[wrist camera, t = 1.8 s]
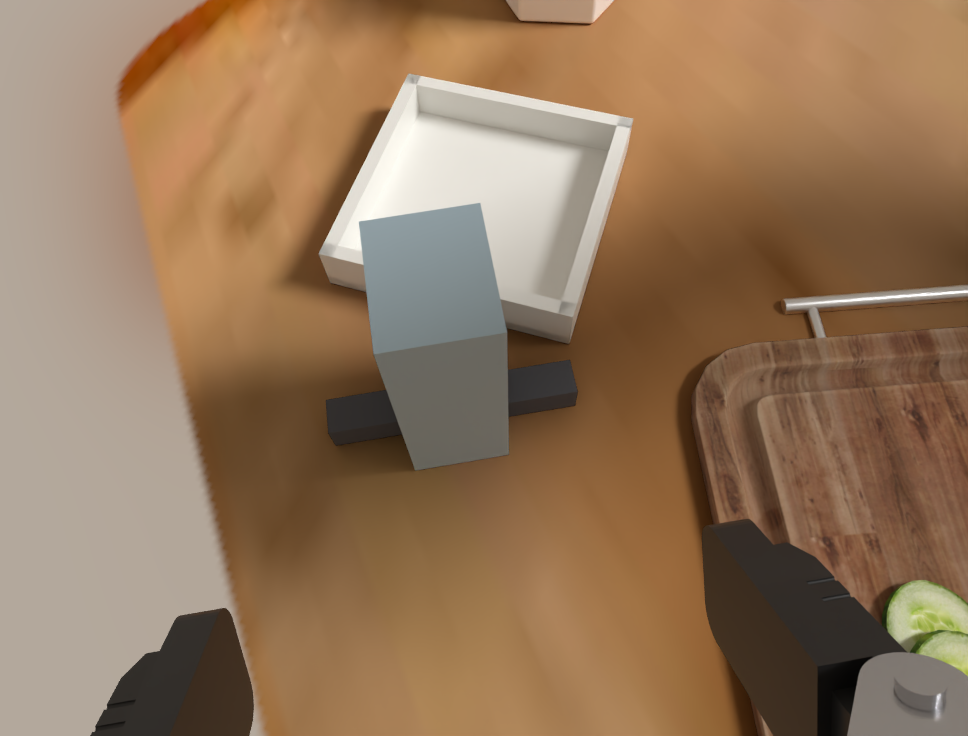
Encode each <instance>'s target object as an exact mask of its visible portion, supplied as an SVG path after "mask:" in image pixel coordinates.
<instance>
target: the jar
mask: <svg viewBox="0 0 968 736" xmlns="http://www.w3.org/2000/svg"><path fill="white" fill-rule="evenodd" d="M505 1H506V2H507V3H508V5H509V6H510V8H511V9H512V10H513V12H514V13H515V15H516V16H517V18H518V19H519V20H521V21H541V22H566V23H593V22H594V21H595V20H596V19H597V18H598V17H599V16H600V15H601V14H602V13H603V12H604V11H605V10H606V9H607V7H608V6H609V5H610V4H611V3H612V2H613V1H614V0H505Z"/></svg>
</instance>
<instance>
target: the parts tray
mask: <svg viewBox="0 0 968 736" xmlns="http://www.w3.org/2000/svg"><path fill="white" fill-rule="evenodd" d="M632 123H633V119H632V118H627V117H622V116H617V115H612V114H607V113H602V112H597V111H592V110H587V109H582V108H577V107H572V106H567V105H563V104H558V103H553V102H548V101H543V100H538V99H533V98H528V97H523V96H518V95H513V94H508V93H503V92H498V91H493V90H488V89H483V88H478V87H473V86H468V85H463V84H458V83H453V82H448V81H443V80H438V79H433V78H428V77H423V76H418V75H413V74H408V76H407V78H406V80H405V82H404V84H403V86H402V88H401V90H400V92H399V94H398V96H397V98H396V100H395V102H394V104H393V106H392V108H391V110H390V112H389V114H388V116H387V118H386V120H385V122H384V124H383V126H382V128H381V130H380V132H379V134H378V136H377V138H376V140H375V142H374V144H373V146H372V148H371V150H370V152H369V154H368V156H367V158H366V160H365V162H364V164H363V166H362V168H361V170H360V172H359V174H358V176H357V178H356V180H355V182H354V184H353V186H352V188H351V190H350V192H349V194H348V196H347V198H346V200H345V202H344V204H343V206H342V208H341V210H340V212H339V214H338V216H337V218H336V220H335V222H334V224H333V226H332V228H331V230H330V232H329V234H328V236H327V238H326V240H325V242H324V244H323V246H322V248H321V250H320V252H319V256H320V259H321V261H322V264H323V266H324V269H325V271H326V274H327V276H328V279H329V281H330V283H333V284H337V285H340V286H344V287H348V288H352V289H356V290H360V291H364V292H366V283H365V274H364V265H363V256H362V247H361V238H360V229H359V221H366V220H372V219H379V218H385V217H391V216H398V215H404V214H411V213H417V212H424V211H430V210H437V209H443V208H450V207H456V206H463V205H469V204H476V203H480V204H481V209H482V214H483V219H484V223H485V228H486V233H487V238H488V243H489V247H490V252H491V257H492V262H493V267H494V271H495V276H496V281H497V286H498V291H499V295H500V300H501V305H502V310H503V315H504V319H505V324H506V328H508V329H512V330H516V331H520V332H524V333H528V334H532V335H536V336H540V337H544V338H547V339H551V340H555V341H559V342H563V343H567V344H569V343H570V340H571V337H572V333H573V330H574V327H575V323H576V320H577V317H578V313H579V310H580V307H581V303H582V300H583V297H584V293H585V290H586V287H587V283H588V280H589V277H590V273H591V270H592V267H593V263H594V260H595V257H596V253H597V250H598V247H599V243H600V240H601V237H602V233H603V230H604V227H605V223H606V220H607V217H608V213H609V210H610V207H611V203H612V200H613V197H614V193H615V190H616V187H617V183H618V180H619V177H620V173H621V170H622V167H623V164H624V160H625V157H626V154H627V149H628V143H629V138H630V133H631V128H632Z"/></svg>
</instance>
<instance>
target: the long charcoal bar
mask: <svg viewBox="0 0 968 736" xmlns="http://www.w3.org/2000/svg"><path fill="white" fill-rule="evenodd" d="M577 393H578V391H577V387H576V383H575V379H574V375H573V370H572V366H571V362H570V360H566V361H559V362H553V363H547V364H541V365H535V366H529V367H523V368H517V369H511V370H508V417H509V416H515V415H521V414H527V413H533V412H539V411H545V410H551V409H557V408H563V407H569V406H575V404H576V398H577ZM326 409H327V423H328V434H329V435H330V437H331V439H332V440H333V442H334V444H335V445H342V444H348V443H354V442H360V441H366V440H372V439H378V438H384V437H390V436H396V435H402V432H401V429H400V427H399V424H398V421H397V418H396V415H395V413H394V410H393V407H392V404H391V402H390V399H389V396H388V393H387V390H383V391H377V392H371V393H365V394H359V395H353V396H347V397H341V398H335V399H329V400H326Z"/></svg>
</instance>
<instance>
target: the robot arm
mask: <svg viewBox="0 0 968 736" xmlns="http://www.w3.org/2000/svg"><path fill="white" fill-rule="evenodd" d="M702 550H703V569H704V588H705V605H706V612H707V617H708V621H709V624H710V627H711V630H712V633H713V636H714V638H715V640H716V642H717V644H718V645H719V647H720V649H721V650H722V652H723V654H724V655H725V657H726V658H727V660H728V662H729V663H730V665H731V667H732V668H733V670H734V672H735V673H736V675H737V677H738V678H739V680H740V682H741V683H742V685H743V687H744V688H745V690H746V691H747V693H748V695H749V696H750V698H751V700H752V701H753V703H754V705H755V706H756V708H757V710H758V711H759V713H760V715H761V716H762V718H763V720H764V721H765V723H766V724H767V726H768V728H769V729H770V731H771V733H772V734H773V736H968V676H967V675H966V674H964V673H963V672H962V671H960V670H958V669H957V668H955V667H954V666H952V665H950V664H948V663H946V662H943V661H941V660H938V659H935V658H933V657H929V656H925V655H921V654H915V653H908V652H907V651H906V650H905V649H904V648H903V647H902V646H901V645H900V644H899V643H898V642H897V641H896V640H895V639H894V638H893V637H892V636H891V635H890V634H889V633H888V632H887V631H886V630H885V629H884V627H883V626H882V625H881V624H880V623H879V622H878V621H877V620H876V619H875V618H874V617H873V616H872V615H871V614H870V613H869V612H868V611H867V610H866V609H865V608H864V607H863V606H862V605H861V604H860V603H859V602H858V601H857V599H856V598H855V597H851V596H850V592H849V591H848V590H847V589H846V588H845V587H844V586H843V585H842V584H841V583H840V582H839V581H838V580H837V581H836V580H835V578H834V576H833V575H832V574H831V573H830V571H829V570H828V569H827V568H826V567H825V566H824V565H823V564H822V563H821V562H820V561H819V560H818V559H817V558H816V557H815V556H813V555H811V554H809V553H807V552H805V551H803V550H801V549H799V548H797V547H795V546H793V545H792V544H790V543H788V542H786V543H780V544H775V545H773V544H772V543H771V541H770V540H769V539H768V538H767V537H766V536H765V535H764V534H763V532H762V531H761V530H760V529H759V528H758V527H757V526H756V525H755V523H754V522H753V521H752V520H750V519H742V520H736V521H730V522H725V523H719V524H713V525H707V526H705V527H704V528H703V532H702ZM253 710H254V703H253V691H252V685H251V681H250V678H249V674H248V671H247V667H246V664H245V660H244V657H243V653H242V650H241V646H240V643H239V639H238V636H237V633H236V629H235V626H234V622H233V619H232V616H231V614H230V612H229V611H228V610H227V609H226V608H222V609H216V610H211V611H204V612H199V613H193V614H187V615H182V616H179V617H177V618H176V620H175V621H174V623H173V625H172V627H171V629H170V631H169V633H168V636H167V637H166V639H165V641H164V643H163V645H162V648H161V650H160V651H158V652H152V653H147V654H145V655H144V656H143V657H142V658H141V659H140V660H139V661H138V662H137V663H136V664H135V665H134V666H133V667H132V668H131V669H130V670H129V671H128V672H127V673H126V674H125V675H124V676H123V677H122V678H121V679H120V681H119V683H118V685H117V687H116V689H115V691H114V692H113V694H112V696H111V698H110V700H109V702H108V704H107V710H104V711H103V713H102V715H101V717H100V719H99V721H98V722H97V724H96V726H95V727H96V731H95V732H92V734H91V735H90V736H249V734H250V730H251V726H252V721H253Z"/></svg>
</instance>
